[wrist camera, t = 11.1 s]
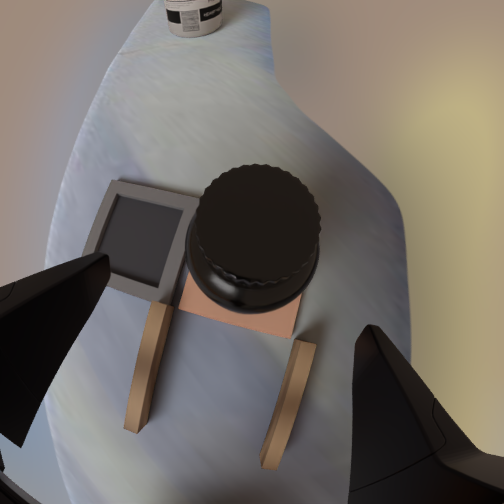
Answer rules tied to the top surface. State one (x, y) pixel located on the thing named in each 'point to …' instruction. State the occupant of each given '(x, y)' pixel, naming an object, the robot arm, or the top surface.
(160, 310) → the channel
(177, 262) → the trap pit
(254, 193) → the supplement bottle
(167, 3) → the supplement can
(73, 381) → the top surface
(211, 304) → the pad
